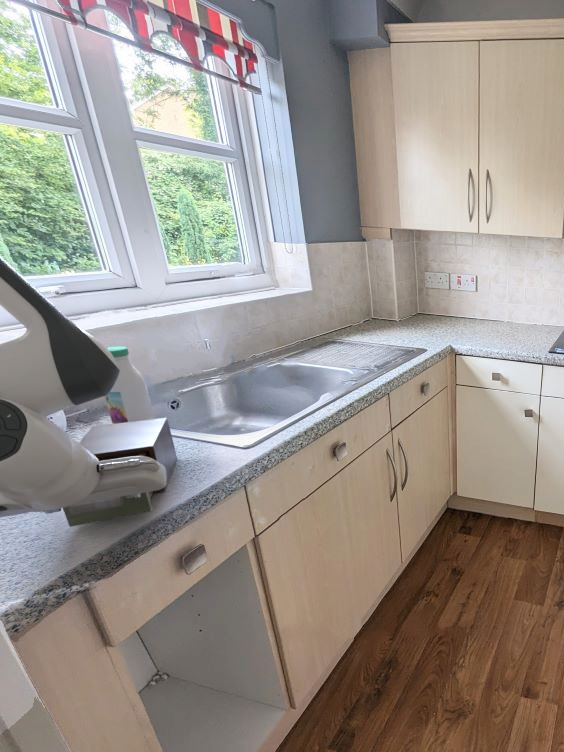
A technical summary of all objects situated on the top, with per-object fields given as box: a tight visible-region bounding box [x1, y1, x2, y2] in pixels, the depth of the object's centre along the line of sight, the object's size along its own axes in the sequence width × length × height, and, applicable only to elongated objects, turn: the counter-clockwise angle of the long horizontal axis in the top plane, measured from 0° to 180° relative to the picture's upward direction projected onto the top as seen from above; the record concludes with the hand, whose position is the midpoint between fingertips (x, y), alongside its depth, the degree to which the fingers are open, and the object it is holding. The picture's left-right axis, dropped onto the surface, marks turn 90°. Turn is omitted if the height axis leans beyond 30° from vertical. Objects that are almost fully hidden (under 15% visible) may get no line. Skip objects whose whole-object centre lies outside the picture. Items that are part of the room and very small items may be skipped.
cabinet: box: [78, 417, 178, 495], centre depth 87 cm, size 15×12×10 cm
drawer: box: [62, 451, 154, 528], centre depth 78 cm, size 18×10×8 cm, turn 29°
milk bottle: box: [104, 346, 156, 424], centre depth 106 cm, size 8×8×20 cm
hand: (96, 500), depth 71 cm, fingers open, 8 cm apart
